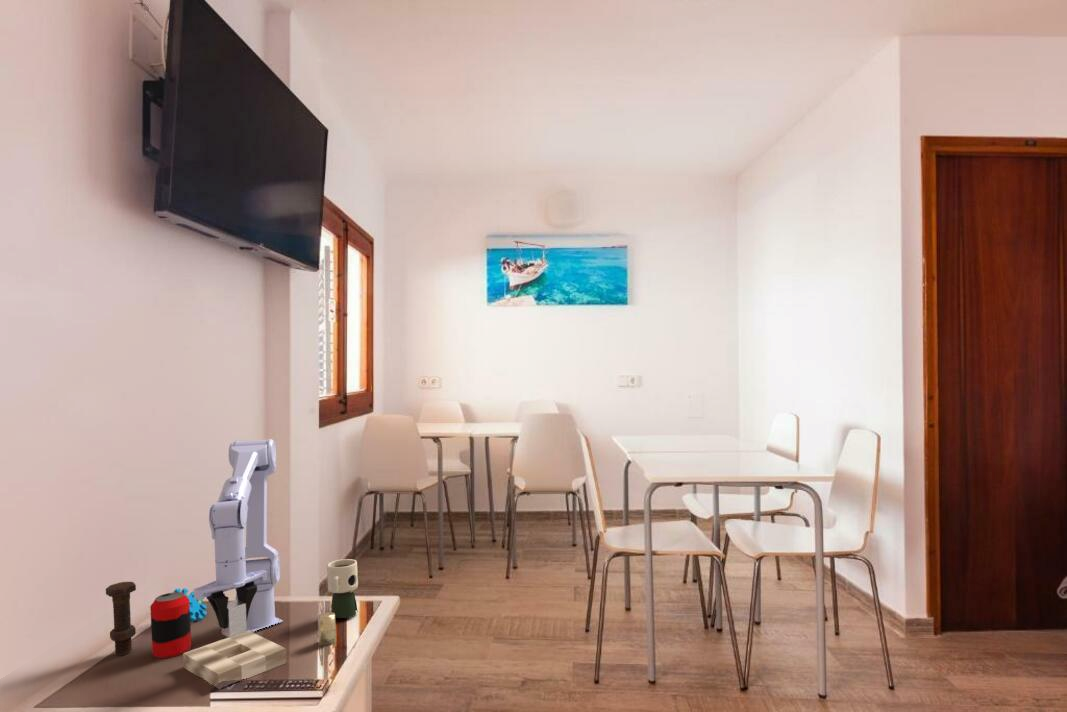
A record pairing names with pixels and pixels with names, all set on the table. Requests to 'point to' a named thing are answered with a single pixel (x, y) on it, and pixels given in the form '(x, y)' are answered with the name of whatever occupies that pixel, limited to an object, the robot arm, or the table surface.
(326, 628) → the round bit
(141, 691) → the table surface
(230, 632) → the square bit
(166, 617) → the soda can
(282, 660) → the socket plate
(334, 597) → the character mug
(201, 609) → the gear
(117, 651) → the bolt
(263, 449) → the robot arm
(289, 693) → the table surface
